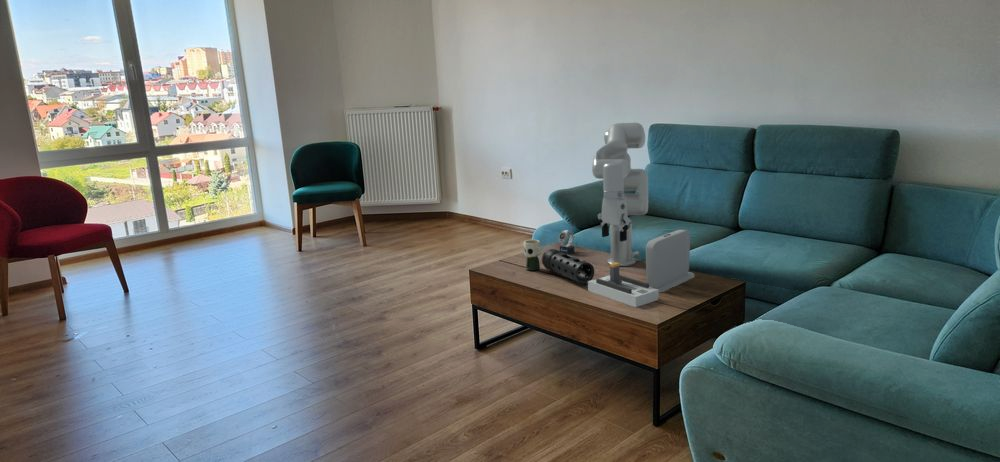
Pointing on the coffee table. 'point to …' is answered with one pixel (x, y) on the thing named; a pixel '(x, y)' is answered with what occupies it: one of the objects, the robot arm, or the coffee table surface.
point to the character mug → (532, 253)
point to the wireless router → (668, 260)
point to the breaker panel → (633, 299)
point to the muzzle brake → (568, 266)
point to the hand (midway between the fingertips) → (614, 238)
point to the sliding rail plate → (621, 288)
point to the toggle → (614, 273)
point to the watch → (562, 238)
